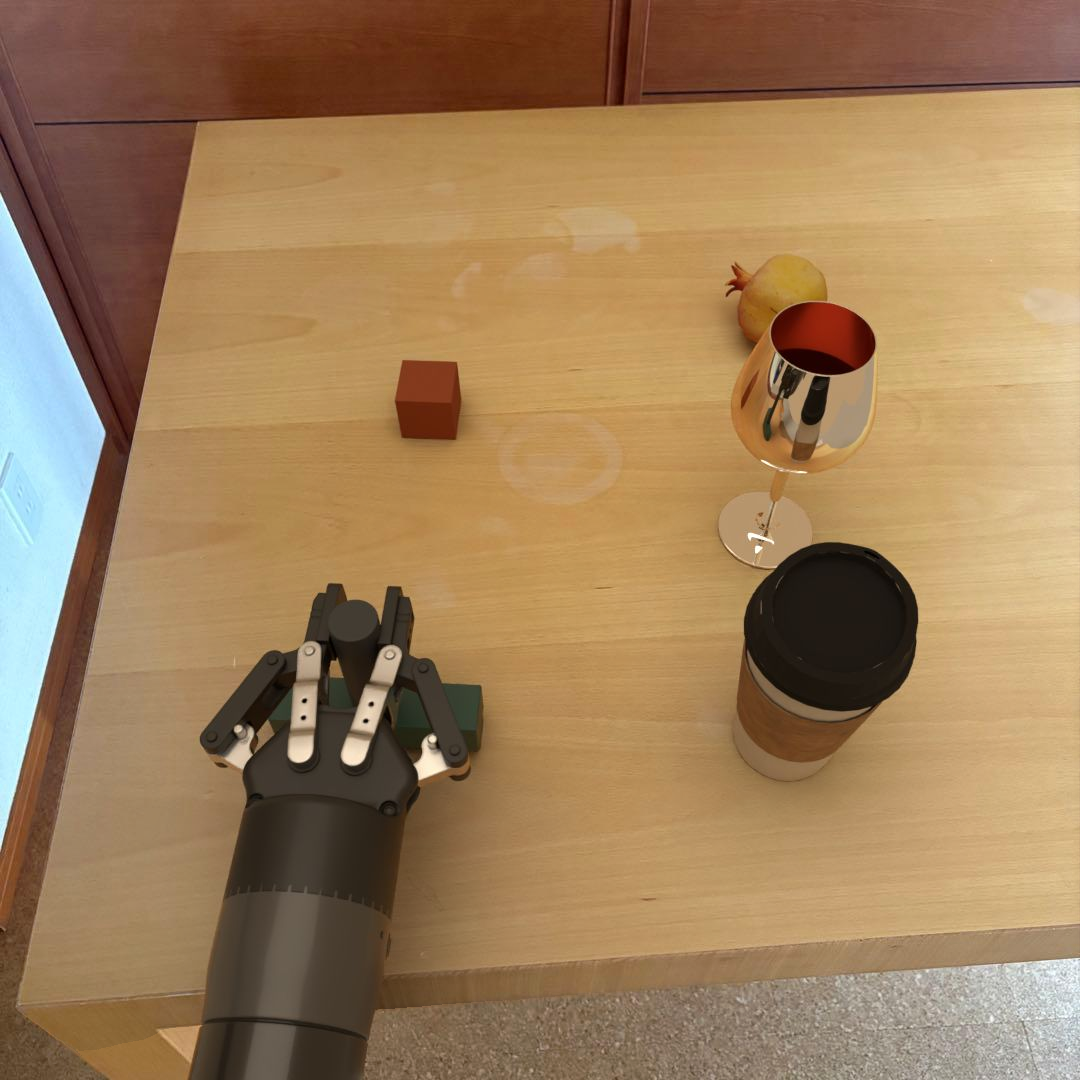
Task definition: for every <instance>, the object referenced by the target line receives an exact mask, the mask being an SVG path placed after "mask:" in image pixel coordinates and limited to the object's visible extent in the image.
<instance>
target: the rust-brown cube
mask: <svg viewBox="0 0 1080 1080" xmlns="http://www.w3.org/2000/svg"><path fill="white" fill-rule="evenodd" d="M459 375H460V374H459V367H458V362H457V361H447V360H446V361H443V360H417V359H416V360H414V359H413V360H412V359H402V360H401V366H400V371H399V376H398V381H397V385H396V386H397V387H396V393H395V396H394V397H395V398H394V403H395V409H396V414H397V419H398V424H399V429H400V435H401V438H402V439H403V438H405V439H431V440H456V439H457V434H458V426H459V418H460V411H461V404H462V393H461V384H460V376H459Z"/></svg>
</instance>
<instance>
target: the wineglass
mask: <svg viewBox="0 0 1080 1080" xmlns="http://www.w3.org/2000/svg"><path fill="white" fill-rule="evenodd" d="M878 367H879V366H878V339H877V335H876V332H875V330H874V328H873V327H872V325H871V323H869V321H868V320H867V319H865V318H864V317H863V316H862V314H861V315H860V314H859V313H858V312H857V311H855V310H854V309H851V308H849V307H847V306H845V305H842V304H839V303H835V302H831V301H827V302H826V301H805V302H800V303H796V304H793V305H790V306H788V307H786V308H785V309H783V310H782V311H780V312H779V313H778V314H777V315H776V316H775V317H774V319H773V320H772V322H771V323H770V325H769V326H768V328H767V329H766V331H765V332H764V334H763V336H762V337H761V339H760V340H759V342H758V343H756V345H755V346H754V348H753V350H752V351H751V353H750V354H749V356H748V358H747V359H746V360H745V362H744V365H743V366H742V368H741V369H740V372H739V374H738V376H737V379H736V380H735V382H734V386H733V389H732V393H731V397H730V398H731V399H730V416H731V421H732V425H733V428H734V431H735V433H736V435H737V436H738V439H739V440H740V442H741V443H742V445H743V446H744V447H745V448H746V450H747V451H748V452H749V453H750V454H751V455H752V456H753V457H754V458H756V460H758V461H759V462H761V463H762V464H763V465H766V466H768V467H769V468H771V469H773V470H775V473H774V476H773V481H772V484H771V488H770V491H761V490H760V491H759V490H758V491H750V492H746V493H742V494H740V495H737V496H736V497H734V498H732V499H731V500H730V501H728V503H726V505H725V506H724V507H723V508H722V510H721V512H720V514H719V518H718V522H717V531H718V536H719V538H720V541H721V543H722V545H723V547H725V549H726V550H727V552H728V553H729V554H731V556H733V557H734V558H735V559H737V560H738V561H740V562H741V563H743V564H746V565H747V566H750V567H754V568H756V569H757V568H758V569H764V570H775V569H776V568H777V566H778V565H779V564H780V563H781V562H783V561H784V560H785V559H786V558H787V557H788V556H790V555H791V554H793V553H795V552H796V551H798V550H800V549H801V548H804V547H807V546H810V545H812V541H813V535H814V533H813V526H812V523H811V520H810V518H809V516H808V515H807V513H806V512H805V510H804V509H803V508H801V507H800V506H799V505H798V504H797V503H796V502H794V501H793V500H792V499H790V498H788V497H787V496H784V495H783V494H784V490H785V486H786V483H787V480H788V477H789V474H794V475H811V474H817V473H822V472H825V471H829V470H831V469H834V468H836V467H838V466H840V465H841V464H843V463H845V462H846V461H848V460H849V459H850V458H852V457H853V456H854V455H856V454H857V452H858V451H859V450H860V449H861V448H862V447H863V446H864V444H865V443H866V441H867V439H868V437H869V436H870V433H871V431H872V430H873V429H872V428H873V426H874V422H875V419H876V413H877V406H878V405H877V403H878V386H879V385H878V379H879V377H878V376H879V374H878V373H879V372H878Z"/></svg>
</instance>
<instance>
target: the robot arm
mask: <svg viewBox="0 0 1080 1080" xmlns="http://www.w3.org/2000/svg"><path fill="white" fill-rule="evenodd" d="M385 590H386V591H385V596H384V602H383V608H382V613H381V619H380V627H381V629H380V634H379V636H378V642H377V644H378V647H379V651H380V652H379V654H378V657H377V660H376V663H375V666H374V669H373V672H372V675H371V678H370V681H369V682H368V683H366V685H365V687H364V690H363V693H362V696H361V699H360V702H359V705H358V706H356V707H350V708H345V709H337V708H334V707H331V706H330V704H329V688H330V677H331V663H332V662H337V661H338V658H337V655H336V652H335V649H334V646H333V643H332V639H331V636H330V633H329V630H328V626H327V621H328V617H329V615H330V613H331V612H332V610H333V609H334V608H335V607H336V606H338V605H339V604H341V603H343V602H345V601H348V597H347V594H346V591H345V587H344V585H343V583H338V582H337V583H336V582H335V583H334V582H328V583H327V586H326V589H325V592H318V593H317V594H316V596H315V597H314V598H313V600H312V605H311V609H310V614H309V618H308V623H307V628H306V632H305V635H304V639H303V643H301V645H300V646H299V647H298V648H296V649H294V650H291V651H287V652H282V651H281V650H277V649H273V650H269V651H267V652H265V653H264V654H263V655H262V657H261V658H260V659H259V660H258V661H257V663H256V664H255V665H254V666H253V668H252V669H251V670H250V671H249V673H248V674H247V675H246V676H245V677H244V679H243V680H242V682H241V683H240V684H239V685H238V686H237V688H236V689H235V691H234V692H233V693H232V694H231V695H230V696H229V698H228V699H227V700H226V702H225V703H224V704H223V705H222V706H221V708H220V709H219V710H218V712H216V713H215V716H214V717H213V718H212V719H211V721H209V722H208V724H207V725H206V727H205V728H204V729H203V730H202V731H201V733H200V736H199V744H200V745H201V747H202V748H203V750H204V752H205V753H206V755H207V756H208V757H209V759H210V760H211V761H212V762H213V763H214V764H215V766H216V767H218V768H221V769H225V768H230V769H232V770H233V771H234V772H237V773H239V774H240V775H241V776H242V778H241V780H242V784H243V787H244V790H245V794H246V799H245V800H246V801H245V805H244V809H243V812H242V814H241V815H242V816H241V820H240V825H239V829H238V833H237V836H236V842H235V846H234V849H233V854H232V859H231V863H230V867H229V872H228V876H227V880H226V885H225V889H224V893H223V897H222V902H221V906H220V911H219V914H218V919H217V922H216V927H215V931H214V936H213V941H212V945H211V949H210V953H209V958H208V964H207V968H206V969H207V970H206V978H205V987H204V999H203V1006H202V1013H201V1019H200V1024H201V1026H199V1027H198V1032H197V1037H196V1040H195V1045H194V1049H193V1053H192V1058H191V1062H190V1065H189V1066H190V1068H189V1072H188V1075H187V1080H364V1075H365V1068H366V1061H367V1054H368V1045H369V1043H368V1041H369V1040H370V1036H371V1030H372V1025H373V1021H374V1018H375V1014H376V1010H377V1007H378V1002H379V999H380V995H381V990H382V988H383V987H382V986H383V983H384V982H383V980H384V976H385V968H386V962H387V960H388V958H389V955H390V951H391V944H392V938H391V926H392V920H393V911H394V905H395V897H396V890H397V882H398V875H399V868H400V861H401V860H400V859H401V854H402V847H403V846H402V845H403V841H404V840H403V838H404V832H405V824H406V821H407V817H408V814H409V812H410V810H411V809H412V807H413V805H414V804H415V803H416V801H417V800H418V799H419V796H420V793H421V789H422V788H424V787H426V786H428V785H431V784H434V783H437V782H439V781H441V780H444V779H446V778H450V779H451V780H452V781H455V782H462V781H465V780H466V779H467V778H469V777H470V774H471V771H472V767H471V760H470V756H469V755H470V754H469V750H468V749H467V746H466V743H465V740H464V738H463V735H462V733H461V730H460V728H459V725H458V723H457V720H456V718H455V715H454V712H453V710H452V707H451V705H450V702H449V700H448V697H447V695H446V692H445V689H444V687H443V684H442V683H443V681H442V679H441V677H440V674H439V671H438V669H437V666H436V664H435V662H434V661H433V660H432V659H431V658H429V657H421V658H417V657H415V656H412V655H411V654H410V653H411V646H412V639H413V633H414V632H413V631H414V626H415V620H416V618H415V613H414V608H413V605H412V601H411V598H410V596H404V592H403V588H402V586H400V585H399V586H398V585H387V587H386V589H385ZM292 687H293V697H292V712H291V719H290V720H289V721H288V722H286V723H285V724H284V725H283V726H282V727H281V728H280V729H279V730H278V731H277V732H276V733H275V734H273V735H272V736H271V737H270V738H269V739H268V740H267V741H266V742H265V743H263V744H262V745H261V746H260V748H259V749H257V750H256V748H257V747H258V745H259V740H260V739H259V736H258V733H259V731H260V730H261V729H262V727H264V725H265V723H266V722H267V721H268V718H269V717H270V716H271V714H272V713H273V712H274V710H275V709H276V708H277V706H278V705H279V704H280V703H281V701H282V700H283V699H284V697H285V696H286V695H287V693H288V692H289V691H290V690H291V688H292ZM404 688H406V689H408V690H411V691H413V692H416V693H417V694H418V696H419V699H420V702H421V704H422V707H423V710H424V712H425V715H426V718H427V720H428V723H429V726H430V728H431V731H432V734H429V735H427V736H426V737H425V738H424V739H423V741H422V748H421V751H422V752H421V756H420V758H419V759H418V760H417V761H416V762H414V761H412V759H411V758H410V756H409V754H408V752H407V751H406V749H405V747H403V746H402V744H401V742H400V741H399V739H398V737H397V735H396V734H395V732H394V728H395V725H396V722H397V718H398V709H399V704H400V701H401V697H402V694H403V691H404Z"/></svg>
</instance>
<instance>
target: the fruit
mask: <svg viewBox="0 0 1080 1080" xmlns="http://www.w3.org/2000/svg"><path fill="white" fill-rule="evenodd" d="M730 268H731V269H732V272H733V275H734V276H735V278H732V279H730V280H728V281H727V282H726V283H724V286H725V287H726V286H727V287H728V286H733V287H731V288H729V289H728V290H727V291H726V293H725V298H728V297H729V295H730V294H731V293H733V292H735V291H740V293H741V294H740V297H739V301H738V304H737V323H738V326H739V327H740V329H741V330H742V332H743V333H744V334H745V337H747V339H749V340H750V341H752V342H754V343H756V344H757V343H758V342H759V340H760V339H761V337H762V336H763V334H764V332H765V331H766V329H767V328H768V326H769V325H770V323H771V322H772V320H773V319H774V317H775V316H776V315H777V314H778V313H779V312H780V311H782V310H783V309H785V308H786V307H788V306H790V305H793V304H796V303H800V302H805V301H826V302H828V287H827V282H826V277H825V275H824V273H823V272H822V271H821V270H820V269H818V267H816V266H815V265H814V264H813V263H812V262H811V261H810V260H808V259H806V258H804V257H801V256H799V255H795V254H789V253H788V254H787V253H786V254H785V253H784V254H783V253H782V254H776V255H774V256H772V257H771V258H769V259H768V260H767V261H766V262H765V263H764V264H763V265H762V266H761V267H760V268H759V269H757V270H756V272H755V273H754V274H752V273H749V272H748V271H747V270H746V269H745V268H744V267H742V266H741V264H739V263H738V262H737V261H734V265H733V264H731V265H730Z"/></svg>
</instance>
